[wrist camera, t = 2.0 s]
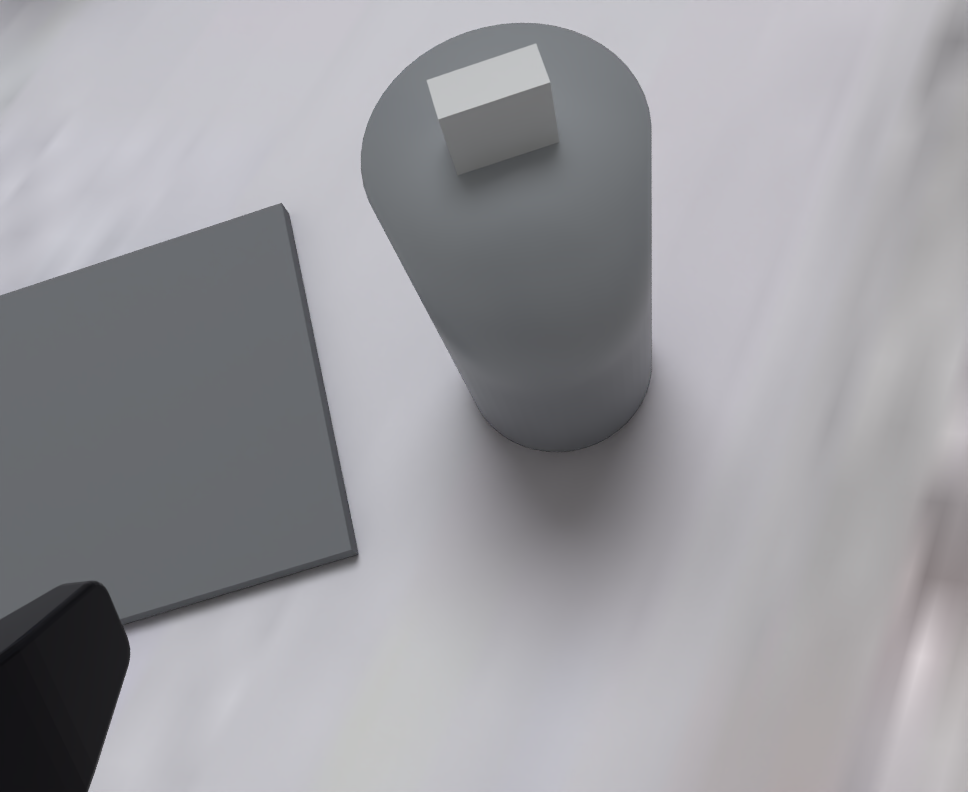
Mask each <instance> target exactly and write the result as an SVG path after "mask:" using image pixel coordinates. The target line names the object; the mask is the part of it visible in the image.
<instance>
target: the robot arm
mask: <svg viewBox="0 0 968 792" xmlns="http://www.w3.org/2000/svg"><path fill="white" fill-rule="evenodd" d="M129 660H130V645H129V641H128V637H127V635H126V633H125V630H124V628H123V625H122V623H121V621H120V618H119V616H118V613H117V611H116V609H115V606H114V604H113V602H112V599H111V597H110V594H109V592H108V590H107V589H106V587H105V586H104V585H103V584H102V583H100V582H97V581H82V582H74V583H65V584H62V585H59V586H57V587H55V588H53V589H52V590H50V591H48V592H46V593H45V594H43V595H41V596H40V597H38V598H36V599H34V600H33V601H31V602H29V603H27V604H26V605H24V606H22V607H20V608H19V609H17V610H15V611H14V612H12V613H10V614H8V615H7V616H5V617H3V618H1V619H0V792H88V790H89V787H90V784H91V781H92V778H93V776H94V773H95V770H96V767H97V764H98V760H99V757H100V754H101V751H102V748H103V745H104V741H105V738H106V735H107V732H108V729H109V726H110V722H111V719H112V716H113V713H114V710H115V707H116V703H117V700H118V697H119V694H120V691H121V688H122V684H123V681H124V678H125V675H126V672H127V669H128V665H129Z"/></svg>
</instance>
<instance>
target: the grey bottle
mask: <svg viewBox="0 0 968 792" xmlns="http://www.w3.org/2000/svg"><path fill="white" fill-rule="evenodd" d="M361 173H362V179H363V185H364V188H365V191H366V194H367V197H368V200H369V202H370V204H371V206H372V208H373V210H374V212H375V214H376V216H377V218H378V220H379V222H380V223H381V225H382V227H383V229H384V231H385V233H386V235H387V237H388V239H389V240H390V242H391V244H392V246H393V248H394V250H395V252H396V254H397V256H398V257H399V259H400V261H401V263H402V265H403V267H404V269H405V271H406V273H407V274H408V276H409V278H410V280H411V282H412V284H413V286H414V288H415V290H416V291H417V293H418V295H419V297H420V299H421V301H422V303H423V305H424V307H425V308H426V310H427V312H428V314H429V316H430V318H431V320H432V322H433V323H434V325H435V327H436V329H437V331H438V333H439V335H440V337H441V339H442V340H443V342H444V344H445V346H446V348H447V350H448V352H449V354H450V356H451V357H452V359H453V361H454V363H455V365H456V367H457V369H458V371H459V373H460V374H461V376H462V378H463V380H464V382H465V384H466V386H467V388H468V390H469V391H470V393H471V395H472V397H473V399H474V401H475V403H476V405H477V407H478V408H479V410H480V412H481V413H482V415H483V416H484V418H485V419H486V420H487V421H488V422H489V423H490V425H491V426H492V427H493V428H494V429H496V430H497V431H498V432H499V433H501V434H502V435H503V436H505V437H506V438H508V439H510V440H511V441H513V442H515V443H518V444H520V445H522V446H525V447H528V448H532V449H535V450H541V451H548V452H563V451H572V450H577V449H581V448H585V447H588V446H591V445H593V444H596V443H598V442H600V441H602V440H604V439H606V438H608V437H609V436H611V435H612V434H614V433H615V432H616V431H618V430H619V429H620V428H621V427H622V426H623V425H625V424H626V423H627V422H628V421H629V419H630V418H631V417H632V416H633V415H634V414H635V412H636V411H637V409H638V407H639V406H640V404H641V403H642V401H643V398H644V396H645V394H646V392H647V389H648V385H649V382H650V376H651V370H652V202H651V119H650V112H649V107H648V104H647V101H646V98H645V95H644V93H643V91H642V89H641V87H640V85H639V83H638V81H637V79H636V78H635V76H634V75H633V74H632V72H631V71H630V69H629V68H628V67H627V66H626V65H625V64H624V63H623V62H622V61H621V60H620V59H619V58H618V57H617V56H616V55H615V54H614V53H613V52H611V51H610V50H609V49H607V48H606V47H605V46H603V45H602V44H600V43H598V42H596V41H595V40H593V39H591V38H589V37H587V36H585V35H582V34H580V33H577V32H575V31H572V30H568V29H565V28H561V27H557V26H552V25H545V24H538V23H511V24H500V25H495V26H489V27H484V28H480V29H477V30H473V31H470V32H466V33H464V34H461V35H459V36H456V37H454V38H451V39H449V40H447V41H445V42H443V43H441V44H439V45H437V46H435V47H434V48H432V49H430V50H429V51H427V52H426V53H424V54H423V55H421V56H420V57H418V58H417V59H416V60H415V61H414V62H412V63H411V64H410V65H409V66H407V67H406V68H405V69H404V70H403V71H402V72H401V73H400V74H399V75H398V76H397V77H396V78H395V79H394V80H393V82H392V83H391V84H390V85H389V87H388V88H387V89H386V91H385V92H384V93H383V95H382V96H381V98H380V100H379V101H378V103H377V105H376V106H375V108H374V110H373V112H372V114H371V117H370V119H369V121H368V124H367V127H366V131H365V134H364V138H363V143H362V151H361Z"/></svg>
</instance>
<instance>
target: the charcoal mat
mask: <svg viewBox="0 0 968 792" xmlns="http://www.w3.org/2000/svg"><path fill="white" fill-rule="evenodd" d="M357 554H358V550H357V546H356V541H355V536H354V531H353V526H352V521H351V516H350V511H349V506H348V501H347V496H346V492H345V487H344V482H343V477H342V472H341V467H340V462H339V457H338V452H337V447H336V442H335V438H334V433H333V428H332V423H331V418H330V413H329V408H328V403H327V398H326V393H325V388H324V384H323V379H322V374H321V369H320V364H319V359H318V354H317V349H316V344H315V339H314V334H313V330H312V325H311V320H310V315H309V310H308V305H307V300H306V295H305V290H304V285H303V280H302V276H301V271H300V266H299V261H298V256H297V251H296V246H295V241H294V236H293V231H292V226H291V222H290V217H289V213H288V212H287V210H286V209H285V207H284V206H283V204H282V203H280V204H277V205H274V206H271V207H268V208H265V209H262V210H259V211H256V212H253V213H250V214H247V215H244V216H240V217H237V218H234V219H231V220H228V221H225V222H222V223H219V224H216V225H213V226H210V227H207V228H204V229H201V230H198V231H195V232H192V233H189V234H186V235H183V236H180V237H177V238H174V239H171V240H168V241H165V242H162V243H159V244H156V245H153V246H149V247H146V248H143V249H140V250H137V251H134V252H131V253H128V254H125V255H122V256H119V257H116V258H113V259H110V260H107V261H104V262H101V263H98V264H95V265H92V266H89V267H86V268H83V269H80V270H77V271H74V272H71V273H68V274H65V275H61V276H58V277H55V278H52V279H49V280H46V281H43V282H40V283H37V284H34V285H31V286H28V287H25V288H22V289H19V290H16V291H13V292H10V293H7V294H4V295H1V296H0V619H1V618H3V617H5V616H7V615H8V614H10V613H12V612H14V611H15V610H17V609H19V608H20V607H22V606H24V605H26V604H27V603H29V602H31V601H33V600H34V599H36V598H38V597H40V596H41V595H43V594H45V593H46V592H48V591H50V590H52V589H53V588H55V587H57V586H59V585H62V584H65V583H74V582H82V581H97V582H100V583H102V584H103V585H104V586H105V587H106V589H107V590H108V592H109V594H110V597H111V599H112V602H113V604H114V606H115V609H116V611H117V613H118V616H119V618H120V621H121V623H122V625H124V624H127V623H130V622H134V621H137V620H140V619H144V618H147V617H150V616H154V615H157V614H160V613H164V612H167V611H170V610H174V609H177V608H180V607H184V606H187V605H190V604H194V603H197V602H200V601H204V600H207V599H210V598H214V597H217V596H220V595H224V594H227V593H230V592H234V591H237V590H240V589H244V588H247V587H250V586H254V585H257V584H260V583H264V582H267V581H270V580H274V579H277V578H280V577H284V576H287V575H290V574H294V573H297V572H300V571H304V570H307V569H310V568H314V567H317V566H320V565H324V564H327V563H330V562H334V561H337V560H340V559H344V558H347V557H350V556H354V555H357Z"/></svg>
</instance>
